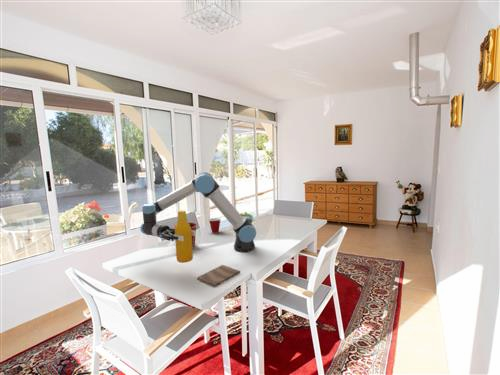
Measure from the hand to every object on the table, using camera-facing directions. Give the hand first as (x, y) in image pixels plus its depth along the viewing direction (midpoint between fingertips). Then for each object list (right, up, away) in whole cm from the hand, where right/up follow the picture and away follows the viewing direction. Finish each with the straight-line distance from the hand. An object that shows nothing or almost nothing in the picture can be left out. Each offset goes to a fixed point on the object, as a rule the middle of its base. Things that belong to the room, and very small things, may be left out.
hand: (189, 236), depth 150 cm
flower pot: (-13, -17, +48) cm, 52 cm away
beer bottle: (-4, -15, +4) cm, 16 cm away
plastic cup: (+4, -12, +80) cm, 81 cm away
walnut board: (+17, -22, -1) cm, 28 cm away
